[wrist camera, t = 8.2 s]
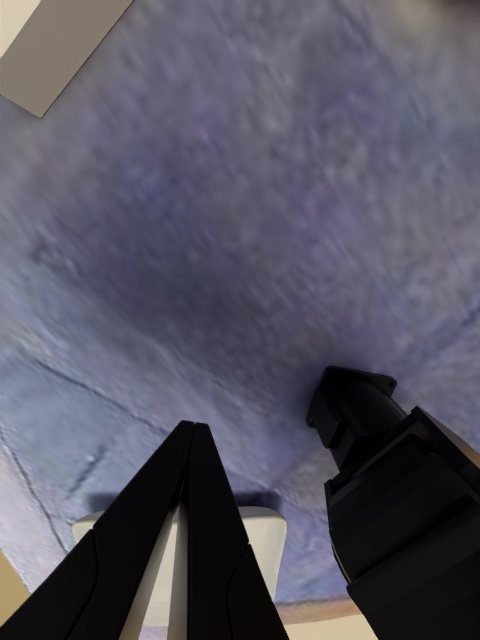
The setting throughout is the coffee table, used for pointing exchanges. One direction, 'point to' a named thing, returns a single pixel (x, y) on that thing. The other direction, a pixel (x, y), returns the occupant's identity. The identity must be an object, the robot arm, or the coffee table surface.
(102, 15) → the rocker switch base
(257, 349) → the coffee table surface
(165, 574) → the salad plate
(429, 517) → the robot arm
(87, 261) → the coffee table surface
